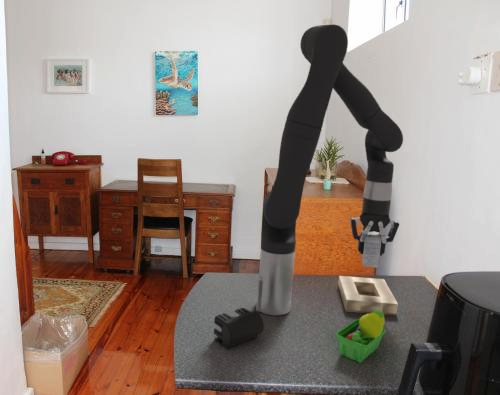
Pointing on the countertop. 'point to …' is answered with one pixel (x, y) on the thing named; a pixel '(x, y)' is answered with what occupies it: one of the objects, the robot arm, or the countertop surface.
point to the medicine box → (371, 250)
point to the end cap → (238, 327)
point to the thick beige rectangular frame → (366, 295)
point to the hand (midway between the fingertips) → (370, 253)
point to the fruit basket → (362, 336)
